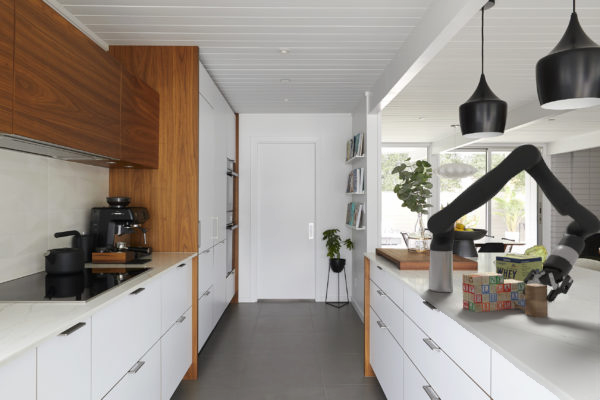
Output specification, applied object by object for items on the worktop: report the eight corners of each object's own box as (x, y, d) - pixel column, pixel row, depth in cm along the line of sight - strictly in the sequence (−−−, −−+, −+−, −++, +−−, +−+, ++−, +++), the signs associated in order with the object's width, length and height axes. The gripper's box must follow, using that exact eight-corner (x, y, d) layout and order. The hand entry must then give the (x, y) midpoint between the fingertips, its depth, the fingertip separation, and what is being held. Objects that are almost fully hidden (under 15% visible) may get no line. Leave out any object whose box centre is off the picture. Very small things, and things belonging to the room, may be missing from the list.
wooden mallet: (510, 309, 134) (509, 281, 134) (521, 308, 135) (520, 280, 136) (536, 317, 124) (535, 286, 125) (547, 316, 126) (547, 285, 126)
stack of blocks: (512, 303, 143) (511, 270, 143) (525, 308, 136) (525, 273, 137) (462, 307, 137) (462, 273, 138) (474, 312, 131) (474, 276, 131)
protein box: (495, 293, 160) (495, 256, 160) (518, 289, 167) (518, 253, 167) (519, 298, 150) (519, 258, 151) (543, 294, 158) (542, 256, 158)
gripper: (535, 251, 137) (512, 286, 133) (576, 256, 124) (550, 294, 120) (547, 265, 139) (523, 300, 135) (587, 272, 125) (563, 310, 121)
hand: (536, 297), depth 127 cm, fingers open, 8 cm apart
